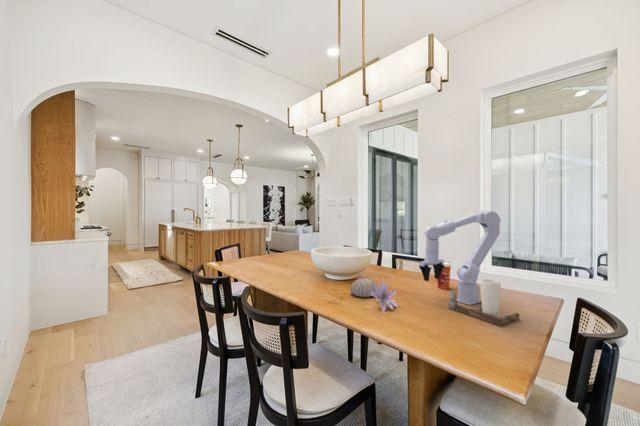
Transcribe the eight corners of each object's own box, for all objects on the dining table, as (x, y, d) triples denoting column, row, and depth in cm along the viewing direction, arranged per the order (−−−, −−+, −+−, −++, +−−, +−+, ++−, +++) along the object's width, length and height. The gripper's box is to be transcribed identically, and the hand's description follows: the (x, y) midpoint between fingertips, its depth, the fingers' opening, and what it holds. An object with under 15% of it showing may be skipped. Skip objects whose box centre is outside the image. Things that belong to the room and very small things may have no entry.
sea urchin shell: (355, 299, 130) (355, 283, 130) (346, 291, 143) (346, 276, 143) (381, 298, 133) (381, 281, 133) (370, 290, 146) (370, 275, 146)
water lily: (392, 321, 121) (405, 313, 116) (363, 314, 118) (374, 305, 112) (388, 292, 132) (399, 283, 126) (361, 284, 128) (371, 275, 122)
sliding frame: (467, 302, 127) (468, 287, 127) (519, 319, 108) (520, 301, 108) (447, 307, 120) (447, 291, 120) (498, 326, 101) (499, 307, 101)
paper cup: (444, 290, 146) (445, 264, 146) (432, 286, 153) (433, 262, 152) (454, 288, 149) (454, 263, 149) (442, 285, 156) (442, 260, 156)
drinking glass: (503, 322, 105) (504, 284, 104) (484, 321, 106) (484, 283, 106) (495, 316, 111) (496, 279, 111) (477, 314, 112) (478, 278, 112)
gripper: (435, 249, 138) (434, 276, 138) (415, 251, 131) (414, 279, 132) (447, 251, 132) (447, 279, 132) (427, 253, 125) (426, 283, 125)
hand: (431, 279), depth 132 cm, fingers open, 7 cm apart
